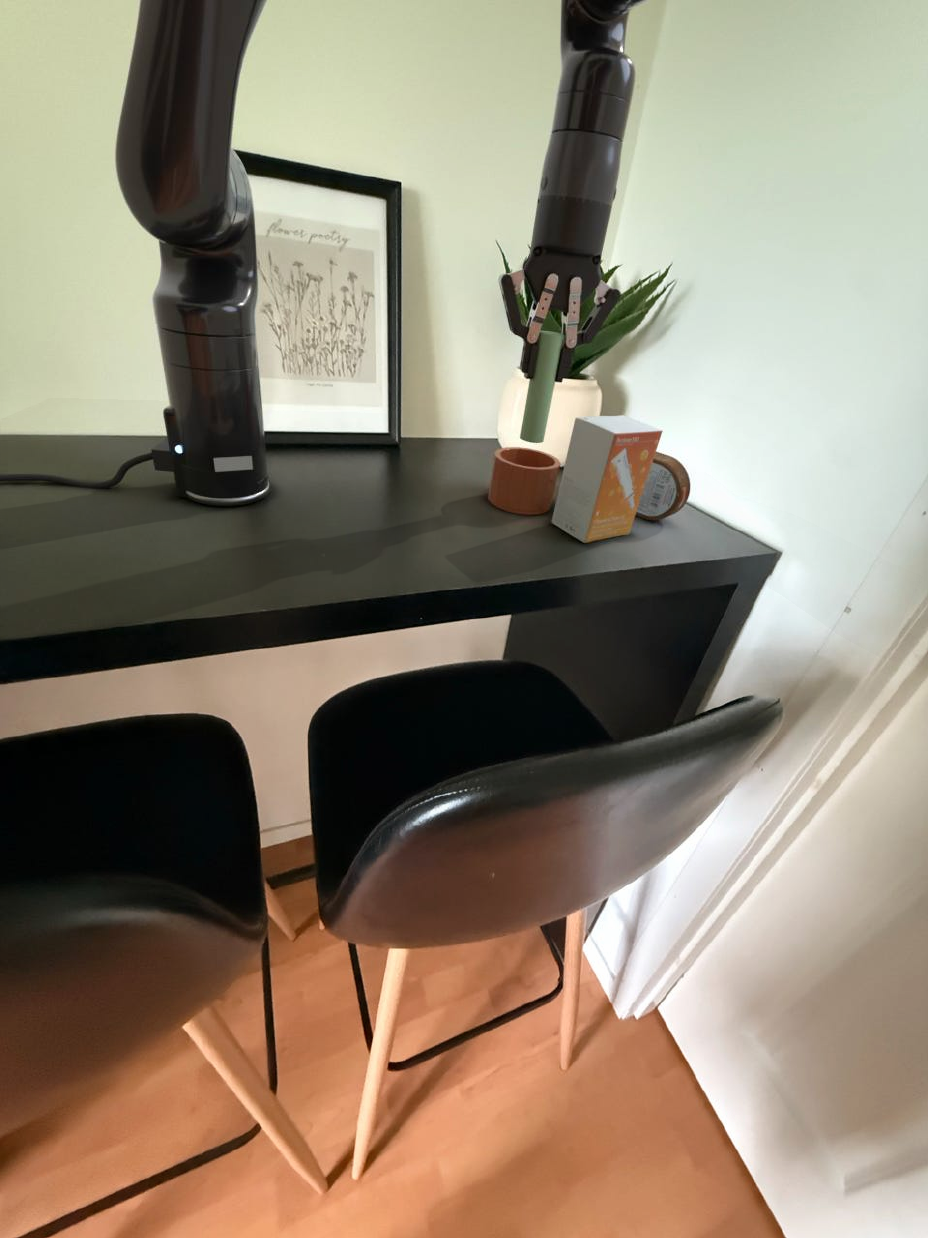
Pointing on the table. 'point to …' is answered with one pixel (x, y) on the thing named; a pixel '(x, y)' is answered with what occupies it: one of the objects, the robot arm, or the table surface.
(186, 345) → the robot arm
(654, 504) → the tin
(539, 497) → the holder
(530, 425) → the candle
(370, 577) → the table surface
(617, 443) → the small box
